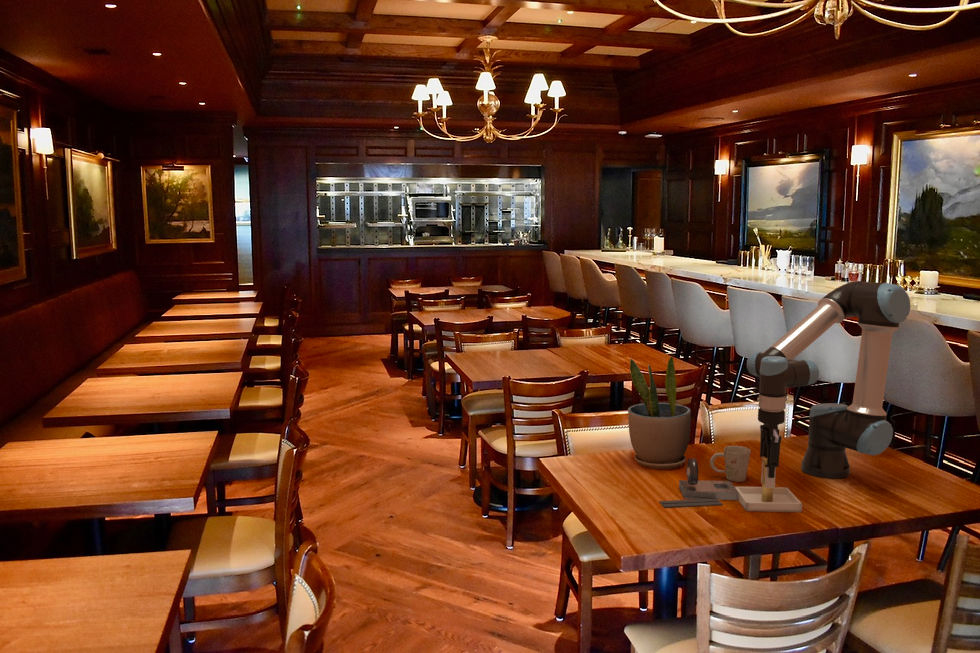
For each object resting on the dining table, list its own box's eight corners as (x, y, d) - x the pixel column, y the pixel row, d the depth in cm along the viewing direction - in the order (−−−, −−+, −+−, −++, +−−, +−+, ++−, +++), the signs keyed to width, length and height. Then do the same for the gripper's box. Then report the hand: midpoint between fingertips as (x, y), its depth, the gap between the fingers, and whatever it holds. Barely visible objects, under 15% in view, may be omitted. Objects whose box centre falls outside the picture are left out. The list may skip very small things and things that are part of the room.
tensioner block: (730, 488, 251) (731, 455, 249) (738, 500, 241) (739, 465, 239) (679, 487, 252) (680, 454, 250) (684, 499, 242) (686, 464, 240)
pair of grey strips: (716, 499, 241) (716, 498, 241) (722, 505, 237) (722, 504, 237) (659, 502, 239) (659, 501, 239) (664, 507, 235) (664, 506, 234)
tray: (786, 495, 245) (787, 487, 245) (801, 512, 231) (802, 503, 231) (734, 494, 246) (734, 486, 245) (745, 511, 232) (746, 502, 232)
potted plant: (614, 462, 278) (616, 349, 272) (652, 450, 291) (655, 342, 286) (663, 477, 262) (666, 357, 256) (701, 463, 276) (705, 350, 270)
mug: (750, 483, 255) (752, 453, 254) (710, 481, 258) (711, 451, 256) (747, 475, 263) (749, 446, 262) (708, 473, 266) (709, 444, 264)
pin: (772, 497, 240) (774, 455, 238) (776, 502, 236) (778, 460, 234) (758, 497, 240) (760, 455, 239) (761, 502, 236) (764, 460, 234)
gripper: (751, 402, 243) (748, 476, 246) (766, 415, 227) (762, 494, 230) (776, 402, 242) (772, 476, 245) (793, 416, 226) (789, 495, 229)
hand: (767, 485), depth 238 cm, fingers closed on pin, 3 cm apart
